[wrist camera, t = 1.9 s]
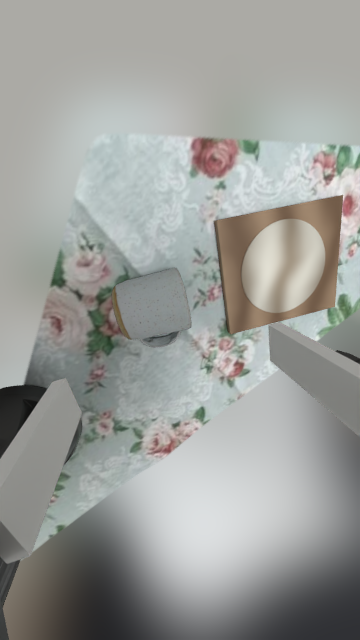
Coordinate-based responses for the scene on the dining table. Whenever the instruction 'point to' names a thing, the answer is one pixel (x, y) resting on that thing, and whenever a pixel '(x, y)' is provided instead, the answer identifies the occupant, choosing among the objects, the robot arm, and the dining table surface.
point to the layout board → (279, 262)
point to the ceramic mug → (152, 307)
